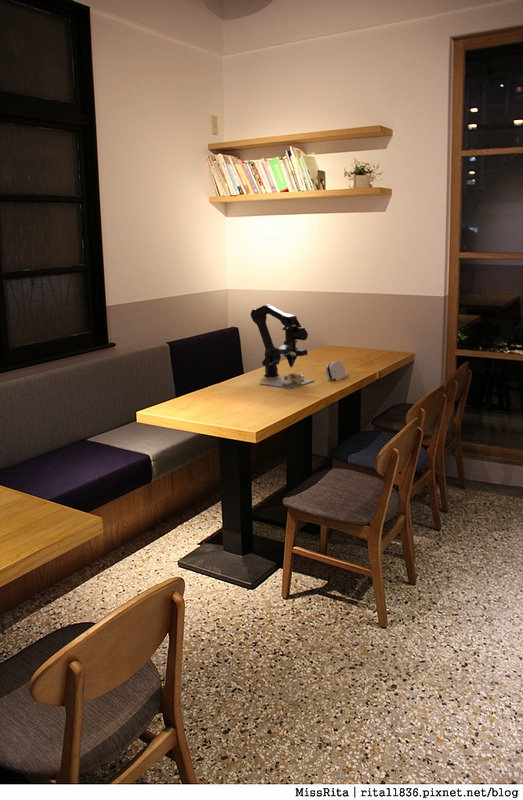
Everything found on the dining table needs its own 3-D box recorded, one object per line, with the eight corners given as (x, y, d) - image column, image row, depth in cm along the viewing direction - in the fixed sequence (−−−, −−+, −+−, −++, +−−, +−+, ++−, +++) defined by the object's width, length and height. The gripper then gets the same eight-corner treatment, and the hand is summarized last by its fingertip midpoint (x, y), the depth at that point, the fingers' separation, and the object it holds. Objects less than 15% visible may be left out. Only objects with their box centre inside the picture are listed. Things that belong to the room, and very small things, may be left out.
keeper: (288, 384, 367) (287, 374, 366) (292, 382, 370) (292, 373, 369) (296, 385, 364) (296, 375, 362) (301, 384, 367) (301, 374, 365)
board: (259, 384, 370) (259, 383, 369) (283, 377, 385) (283, 376, 385) (290, 388, 356) (290, 387, 356) (314, 381, 372) (314, 380, 372)
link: (286, 385, 361) (286, 377, 360) (280, 384, 364) (280, 376, 363) (305, 379, 373) (305, 371, 372) (298, 378, 376) (298, 371, 375)
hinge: (336, 381, 371) (330, 363, 370) (329, 383, 373) (323, 365, 373) (348, 374, 385) (343, 358, 384) (341, 377, 387) (335, 360, 387)
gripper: (268, 339, 374) (268, 367, 378) (295, 342, 362) (295, 371, 366) (280, 336, 382) (281, 364, 386) (307, 339, 370) (308, 367, 374)
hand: (291, 367), depth 378 cm, fingers closed
